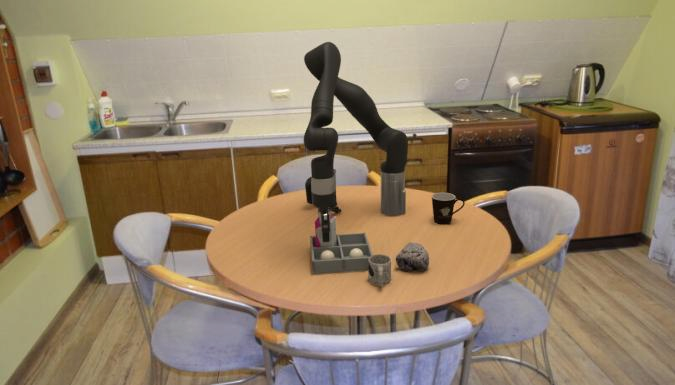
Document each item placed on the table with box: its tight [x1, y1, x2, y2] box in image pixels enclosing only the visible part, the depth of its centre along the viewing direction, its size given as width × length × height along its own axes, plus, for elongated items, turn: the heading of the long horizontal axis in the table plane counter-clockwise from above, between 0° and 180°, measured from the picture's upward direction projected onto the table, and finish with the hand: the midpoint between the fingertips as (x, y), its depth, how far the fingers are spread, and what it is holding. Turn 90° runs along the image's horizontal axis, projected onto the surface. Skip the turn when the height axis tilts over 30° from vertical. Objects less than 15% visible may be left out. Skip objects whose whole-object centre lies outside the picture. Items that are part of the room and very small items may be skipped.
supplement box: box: [314, 215, 337, 248], centre depth 169 cm, size 6×6×12 cm
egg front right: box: [321, 250, 335, 260], centre depth 162 cm, size 4×4×4 cm
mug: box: [367, 253, 392, 287], centre depth 151 cm, size 10×7×7 cm, turn 178°
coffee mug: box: [431, 192, 466, 226], centre depth 191 cm, size 12×9×10 cm
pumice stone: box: [395, 241, 430, 273], centre depth 160 cm, size 10×8×10 cm
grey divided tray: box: [309, 232, 374, 275], centre depth 167 cm, size 19×19×4 cm
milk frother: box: [304, 168, 342, 214], centre depth 208 cm, size 14×16×15 cm
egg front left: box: [349, 248, 363, 258], centre depth 162 cm, size 4×4×4 cm
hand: (325, 236), depth 169 cm, fingers open, 8 cm apart
